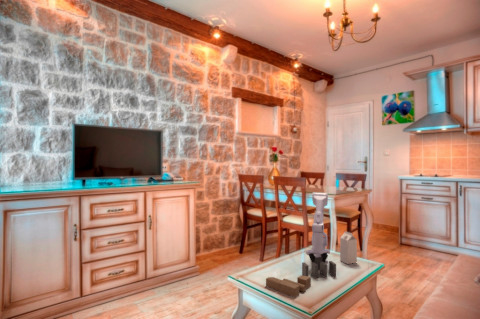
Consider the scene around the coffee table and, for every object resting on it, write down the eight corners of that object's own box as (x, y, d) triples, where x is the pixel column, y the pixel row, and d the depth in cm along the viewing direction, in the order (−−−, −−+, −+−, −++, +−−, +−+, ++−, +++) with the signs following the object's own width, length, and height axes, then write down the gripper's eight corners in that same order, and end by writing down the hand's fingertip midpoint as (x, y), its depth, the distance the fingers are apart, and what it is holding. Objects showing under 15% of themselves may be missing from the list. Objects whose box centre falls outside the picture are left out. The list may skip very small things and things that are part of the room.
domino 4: (324, 277, 148) (324, 264, 148) (320, 273, 153) (320, 261, 153) (327, 277, 148) (327, 264, 148) (322, 273, 153) (322, 261, 153)
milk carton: (349, 259, 176) (349, 230, 176) (356, 263, 169) (356, 233, 170) (340, 260, 174) (340, 231, 174) (347, 264, 167) (347, 234, 167)
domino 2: (315, 278, 147) (315, 265, 147) (311, 274, 152) (311, 262, 152) (317, 277, 147) (317, 265, 147) (313, 274, 152) (313, 261, 152)
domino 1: (305, 278, 146) (305, 266, 146) (302, 275, 151) (302, 262, 151) (308, 278, 146) (308, 265, 146) (304, 274, 151) (304, 262, 151)
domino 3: (313, 268, 160) (313, 257, 160) (321, 268, 161) (321, 256, 161) (314, 269, 158) (314, 258, 158) (322, 269, 159) (322, 257, 159)
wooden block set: (296, 287, 125) (265, 276, 137) (296, 299, 125) (265, 287, 137) (312, 275, 138) (282, 266, 149) (312, 286, 138) (282, 276, 149)
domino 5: (333, 276, 149) (333, 264, 149) (329, 273, 154) (329, 261, 154) (336, 276, 149) (336, 264, 149) (331, 273, 154) (331, 260, 154)
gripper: (309, 245, 154) (309, 269, 154) (332, 244, 157) (332, 267, 157) (304, 242, 161) (304, 264, 161) (326, 241, 164) (326, 263, 164)
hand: (317, 265), depth 159 cm, fingers open, 5 cm apart
